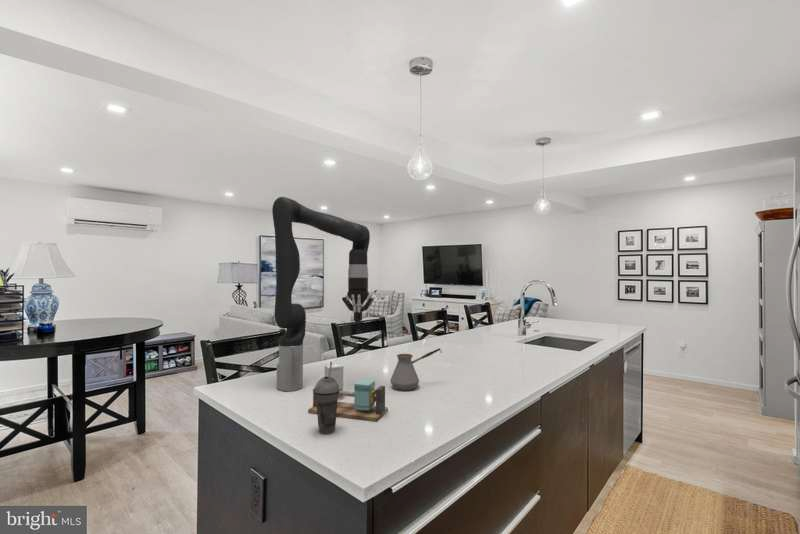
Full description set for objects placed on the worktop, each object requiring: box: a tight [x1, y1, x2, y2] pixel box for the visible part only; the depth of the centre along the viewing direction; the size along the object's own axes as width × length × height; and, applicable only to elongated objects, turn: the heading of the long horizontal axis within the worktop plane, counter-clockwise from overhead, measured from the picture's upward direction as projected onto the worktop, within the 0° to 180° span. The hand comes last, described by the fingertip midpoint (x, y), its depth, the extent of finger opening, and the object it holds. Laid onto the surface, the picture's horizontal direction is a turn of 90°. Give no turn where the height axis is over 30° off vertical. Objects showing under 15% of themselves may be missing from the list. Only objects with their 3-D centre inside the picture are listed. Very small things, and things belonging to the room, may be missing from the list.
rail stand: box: [307, 385, 389, 423], centre depth 128 cm, size 24×10×9 cm, turn 72°
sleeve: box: [353, 379, 376, 410], centre depth 126 cm, size 5×5×8 cm
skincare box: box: [324, 363, 344, 400], centre depth 142 cm, size 6×4×12 cm
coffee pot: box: [390, 347, 443, 391], centre depth 156 cm, size 21×12×15 cm, turn 104°
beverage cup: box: [314, 361, 340, 435], centre depth 113 cm, size 7×7×20 cm
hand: (358, 322), depth 148 cm, fingers closed
